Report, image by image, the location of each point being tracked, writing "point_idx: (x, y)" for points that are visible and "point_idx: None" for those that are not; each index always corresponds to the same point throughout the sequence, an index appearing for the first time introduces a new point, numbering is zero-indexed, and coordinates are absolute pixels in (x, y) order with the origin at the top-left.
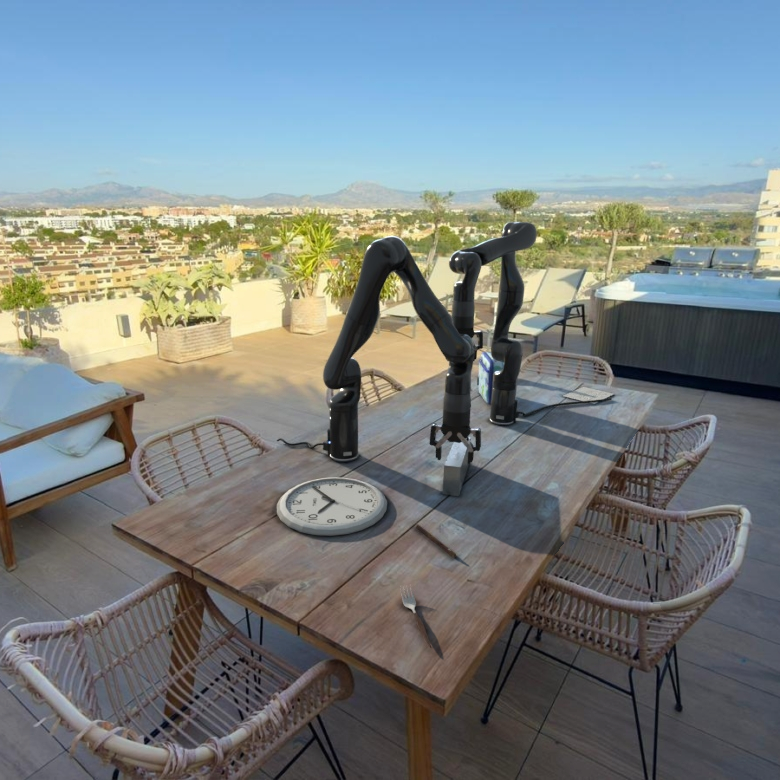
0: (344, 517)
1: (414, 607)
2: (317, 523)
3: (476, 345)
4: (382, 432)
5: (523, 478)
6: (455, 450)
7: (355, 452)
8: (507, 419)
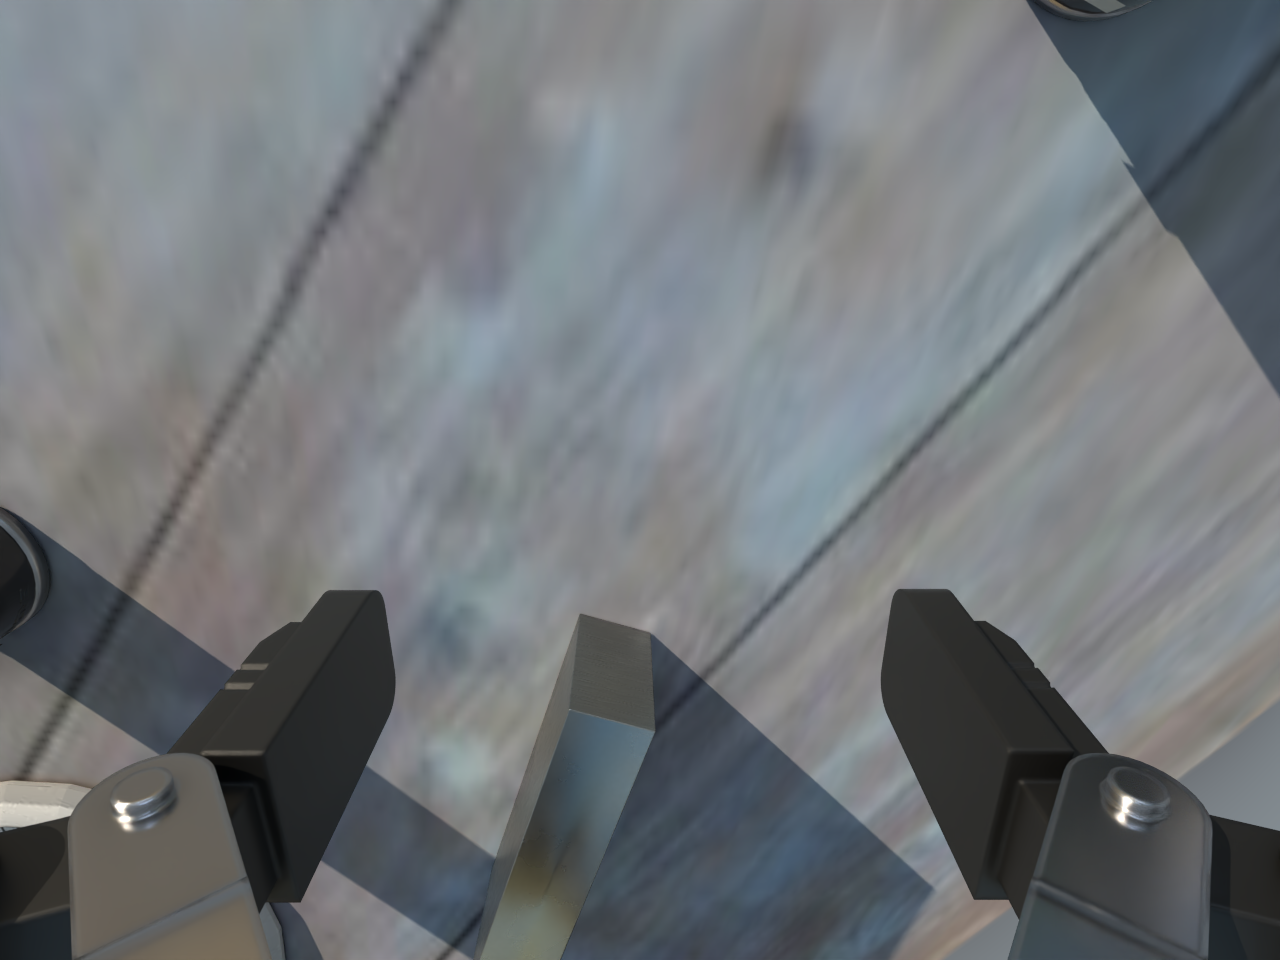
0: None
1: None
2: None
3: (1233, 926)
4: (98, 170)
5: (864, 763)
6: (536, 877)
7: (12, 622)
8: (1142, 3)
